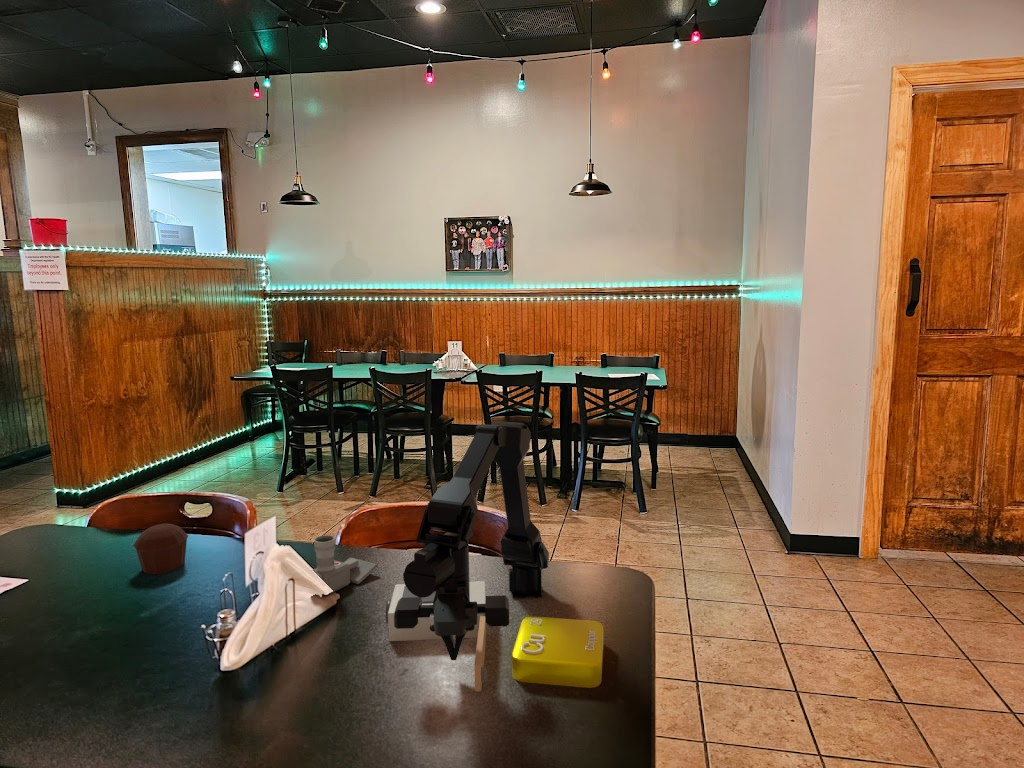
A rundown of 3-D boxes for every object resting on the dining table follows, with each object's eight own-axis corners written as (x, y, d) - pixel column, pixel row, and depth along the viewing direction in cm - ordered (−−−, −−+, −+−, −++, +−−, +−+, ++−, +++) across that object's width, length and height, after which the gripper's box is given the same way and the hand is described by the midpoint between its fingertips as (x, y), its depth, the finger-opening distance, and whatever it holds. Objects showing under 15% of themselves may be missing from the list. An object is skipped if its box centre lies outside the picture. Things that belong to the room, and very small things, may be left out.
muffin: (158, 555, 162) (155, 517, 160) (200, 557, 160) (196, 518, 159) (124, 576, 150) (120, 534, 149) (168, 578, 149) (164, 536, 147)
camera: (298, 539, 140) (349, 519, 153) (301, 592, 141) (351, 567, 154) (327, 547, 136) (377, 526, 148) (329, 601, 137) (378, 575, 150)
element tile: (601, 691, 106) (601, 663, 105) (509, 683, 108) (509, 656, 108) (603, 642, 121) (603, 618, 120) (523, 636, 123) (523, 612, 122)
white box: (485, 606, 134) (484, 579, 133) (486, 637, 122) (485, 608, 121) (391, 610, 133) (390, 583, 132) (383, 641, 121) (382, 612, 120)
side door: (481, 635, 122) (480, 612, 121) (490, 635, 122) (490, 612, 121) (474, 691, 105) (474, 665, 104) (486, 691, 105) (485, 665, 104)
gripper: (386, 594, 99) (390, 689, 102) (509, 592, 100) (510, 686, 102) (397, 564, 110) (400, 650, 113) (508, 562, 111) (509, 647, 113)
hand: (453, 659), depth 110 cm, fingers closed
